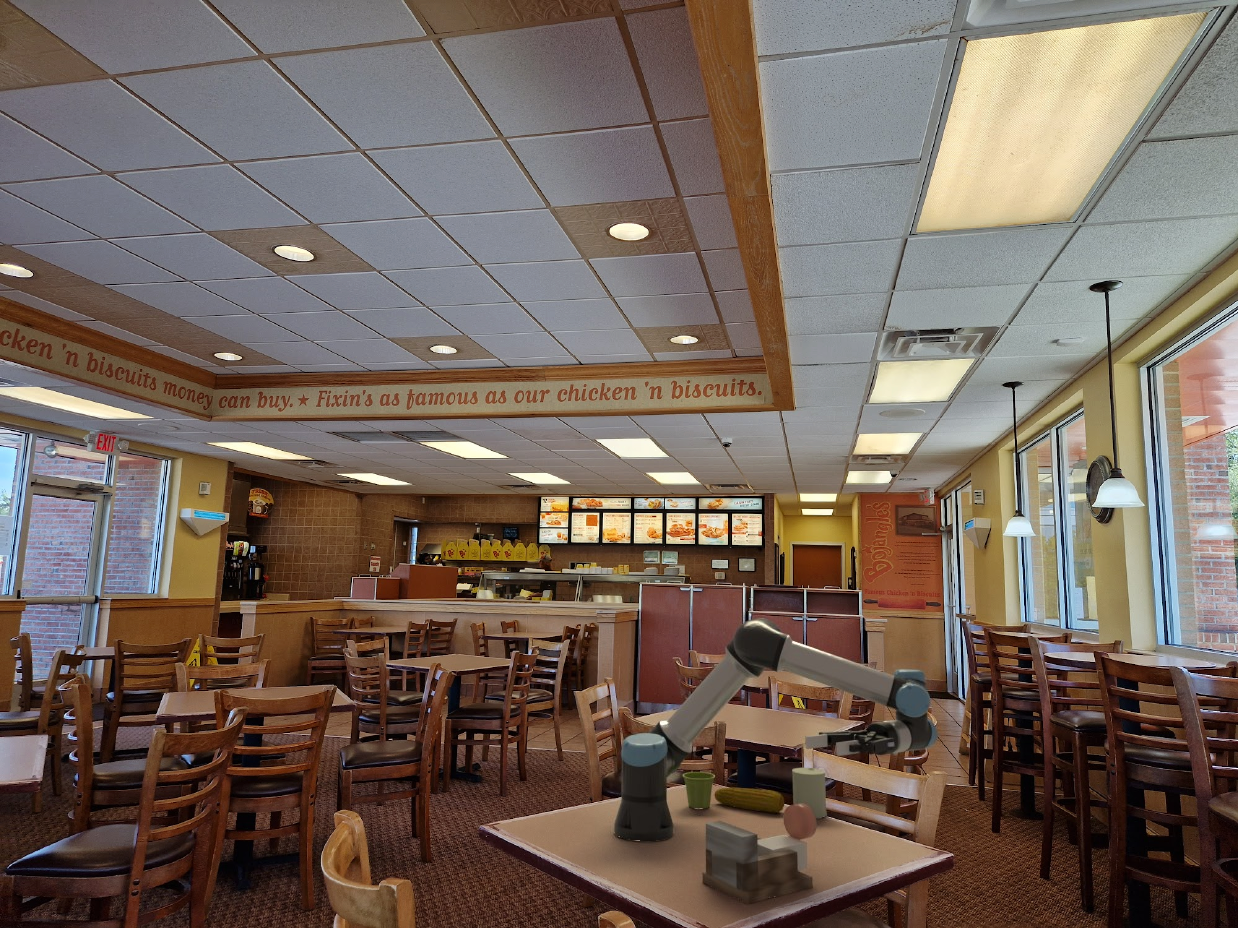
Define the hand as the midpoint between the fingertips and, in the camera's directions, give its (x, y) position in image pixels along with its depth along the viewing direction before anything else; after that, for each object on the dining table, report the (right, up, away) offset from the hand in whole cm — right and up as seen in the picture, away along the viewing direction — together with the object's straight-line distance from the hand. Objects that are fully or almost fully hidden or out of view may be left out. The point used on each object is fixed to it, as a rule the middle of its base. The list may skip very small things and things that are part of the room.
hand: (821, 745), depth 180 cm
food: (-9, -35, +45) cm, 58 cm away
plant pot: (-23, -34, +47) cm, 62 cm away
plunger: (-11, -22, -11) cm, 27 cm away
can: (+7, -34, +40) cm, 53 cm away
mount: (-17, -24, -15) cm, 33 cm away
